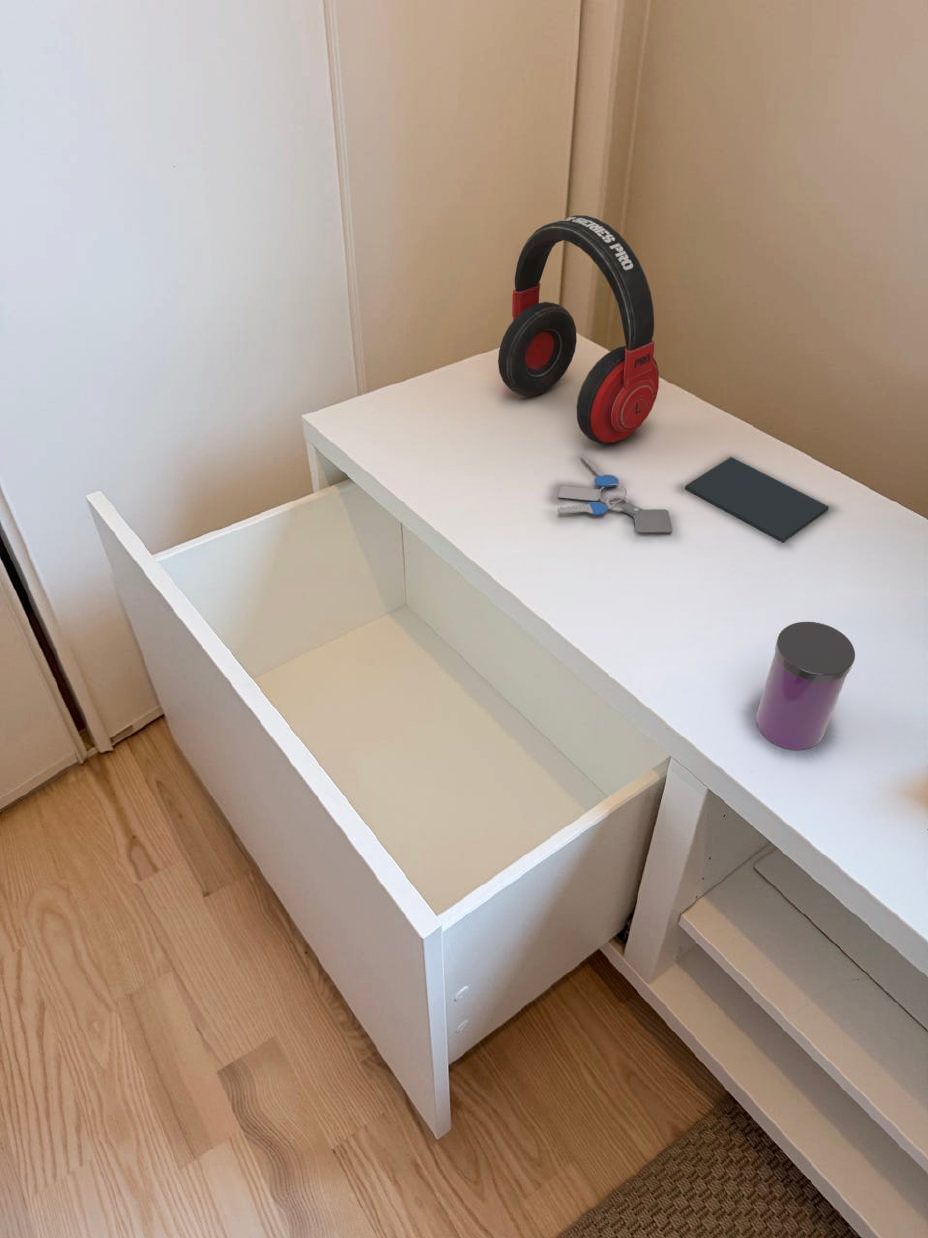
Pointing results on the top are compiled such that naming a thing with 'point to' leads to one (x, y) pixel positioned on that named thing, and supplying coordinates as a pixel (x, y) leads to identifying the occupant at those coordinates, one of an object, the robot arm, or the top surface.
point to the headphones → (548, 336)
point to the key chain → (643, 518)
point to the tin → (803, 684)
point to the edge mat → (757, 499)
